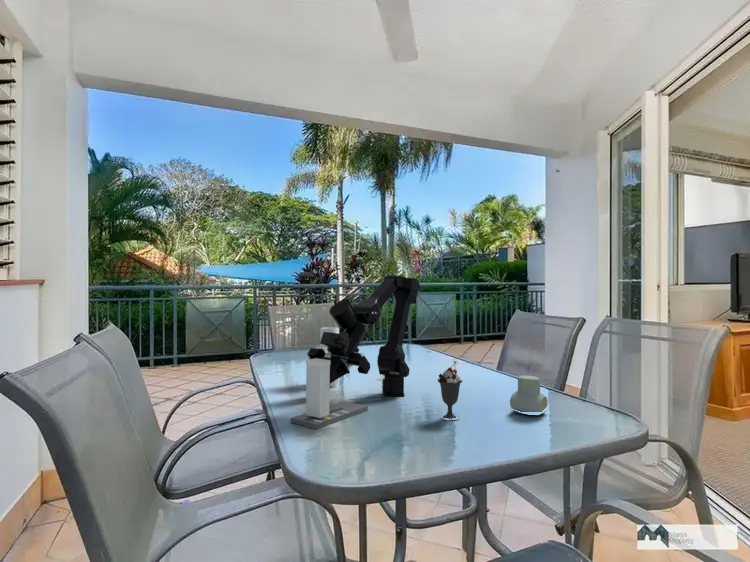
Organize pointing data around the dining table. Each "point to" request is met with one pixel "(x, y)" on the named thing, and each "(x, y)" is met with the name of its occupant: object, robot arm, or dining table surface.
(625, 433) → the dining table surface
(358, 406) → the console
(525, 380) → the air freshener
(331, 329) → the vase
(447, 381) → the sundae
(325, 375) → the fader tab
